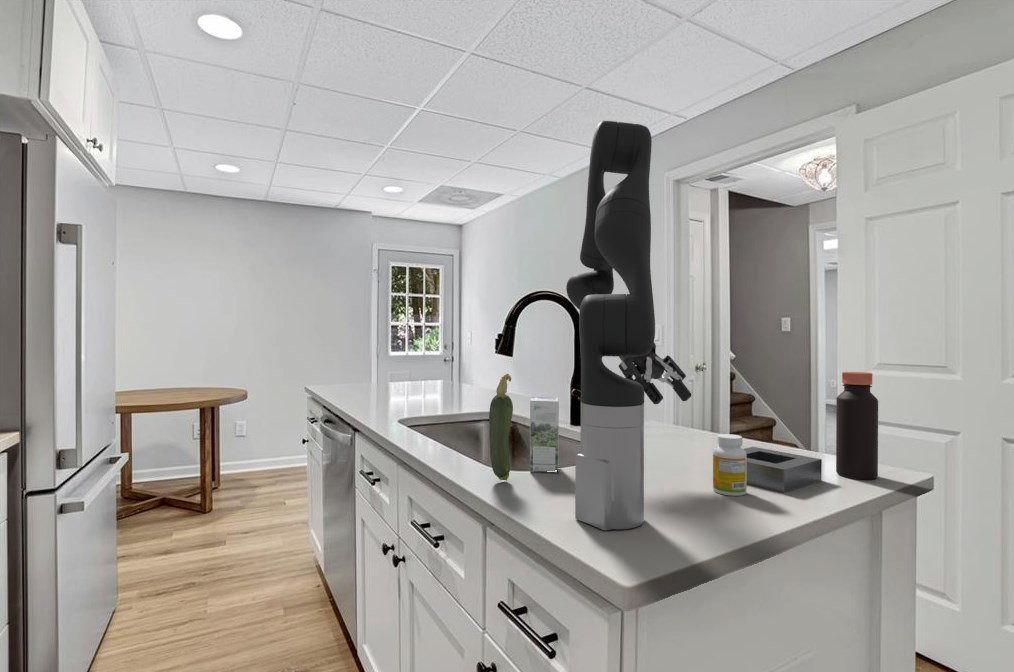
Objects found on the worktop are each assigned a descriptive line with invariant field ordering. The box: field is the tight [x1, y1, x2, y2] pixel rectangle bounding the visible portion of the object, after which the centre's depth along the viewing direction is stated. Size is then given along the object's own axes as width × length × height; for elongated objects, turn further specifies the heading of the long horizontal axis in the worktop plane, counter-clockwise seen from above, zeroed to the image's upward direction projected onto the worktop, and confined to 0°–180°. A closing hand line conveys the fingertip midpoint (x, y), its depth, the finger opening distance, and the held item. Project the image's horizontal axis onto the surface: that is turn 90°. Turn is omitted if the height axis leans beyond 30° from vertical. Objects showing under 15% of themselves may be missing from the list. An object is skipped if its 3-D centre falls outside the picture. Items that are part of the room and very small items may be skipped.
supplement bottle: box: [712, 433, 748, 497], centre depth 93 cm, size 5×5×10 cm
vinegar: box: [835, 371, 879, 481], centre depth 104 cm, size 7×7×20 cm
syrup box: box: [529, 396, 560, 473], centre depth 108 cm, size 6×6×14 cm
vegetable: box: [488, 373, 514, 482], centre depth 99 cm, size 4×4×20 cm
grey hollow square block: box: [743, 446, 823, 493], centre depth 102 cm, size 14×14×4 cm
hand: (674, 400), depth 102 cm, fingers open, 8 cm apart
